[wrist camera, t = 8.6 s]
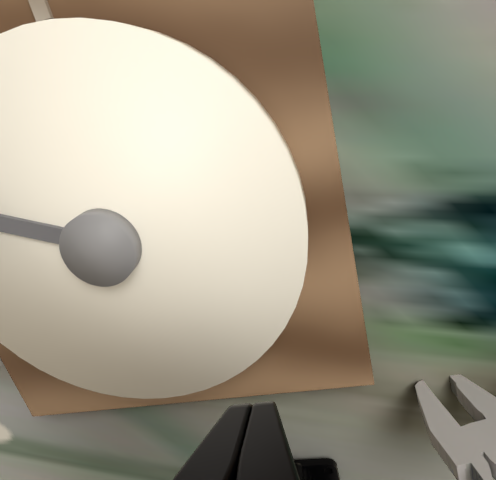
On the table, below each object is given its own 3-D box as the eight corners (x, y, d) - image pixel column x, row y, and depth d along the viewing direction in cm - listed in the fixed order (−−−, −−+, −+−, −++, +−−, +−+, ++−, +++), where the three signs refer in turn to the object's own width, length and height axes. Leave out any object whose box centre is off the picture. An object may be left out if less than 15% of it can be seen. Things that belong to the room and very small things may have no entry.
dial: (354, 66, 14) (389, 71, 8) (267, 405, 21) (252, 543, 15) (-81, -15, 15) (-335, -65, 9) (-33, 337, 22) (-163, 443, 16)
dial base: (370, 363, 21) (374, 387, 20) (47, 397, 25) (30, 419, 24) (294, -108, 14) (293, -129, 13) (-140, 41, 18) (-183, 39, 16)
